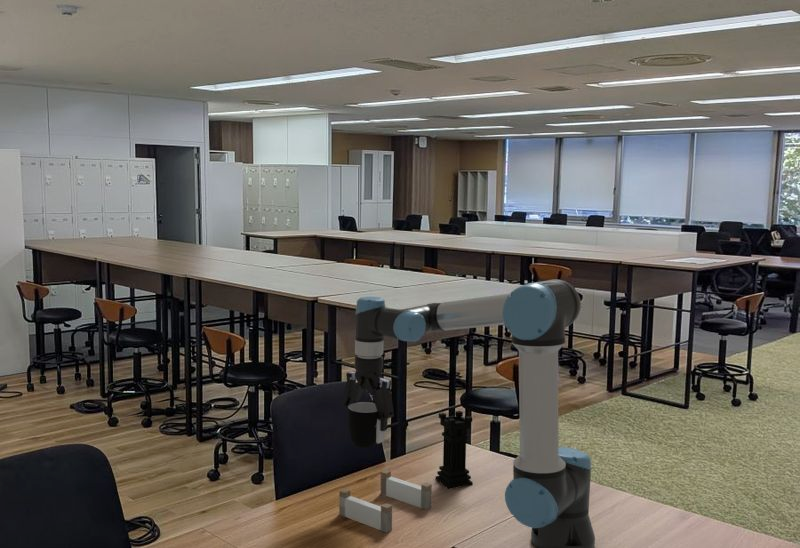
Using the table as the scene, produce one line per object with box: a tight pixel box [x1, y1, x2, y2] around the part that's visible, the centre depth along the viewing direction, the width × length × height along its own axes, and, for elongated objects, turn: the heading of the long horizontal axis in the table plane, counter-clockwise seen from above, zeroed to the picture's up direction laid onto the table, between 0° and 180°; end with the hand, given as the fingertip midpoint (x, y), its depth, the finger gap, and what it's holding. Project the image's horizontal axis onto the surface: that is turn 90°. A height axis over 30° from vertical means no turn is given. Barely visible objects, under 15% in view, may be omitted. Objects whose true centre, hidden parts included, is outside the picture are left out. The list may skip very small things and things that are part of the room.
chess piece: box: [434, 410, 474, 490], centre depth 209 cm, size 8×8×20 cm
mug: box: [347, 401, 379, 449], centre depth 192 cm, size 12×9×10 cm
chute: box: [338, 469, 433, 533], centre depth 190 cm, size 16×19×6 cm
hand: (366, 437), depth 192 cm, fingers closed on mug, 9 cm apart
